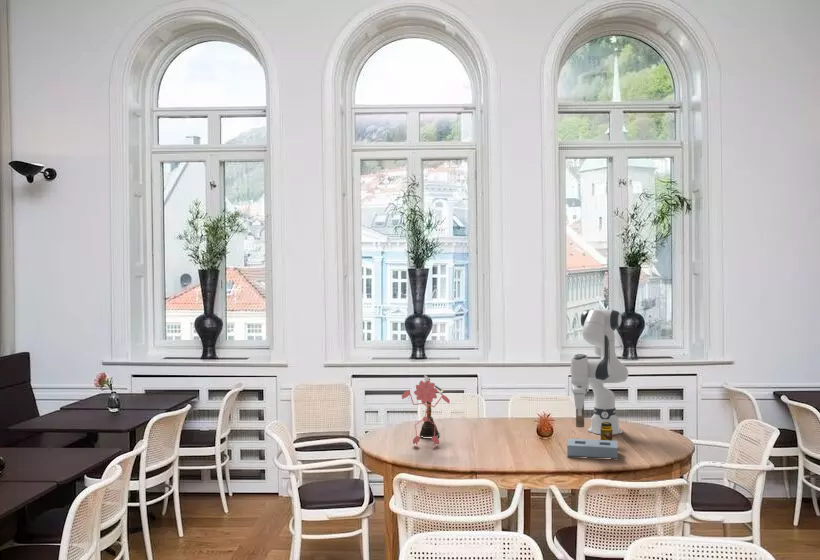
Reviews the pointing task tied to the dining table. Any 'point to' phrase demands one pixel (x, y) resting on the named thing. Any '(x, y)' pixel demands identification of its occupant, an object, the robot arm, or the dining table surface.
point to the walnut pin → (580, 419)
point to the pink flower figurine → (425, 394)
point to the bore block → (592, 448)
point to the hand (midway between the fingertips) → (580, 414)
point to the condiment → (606, 431)
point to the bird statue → (430, 418)
